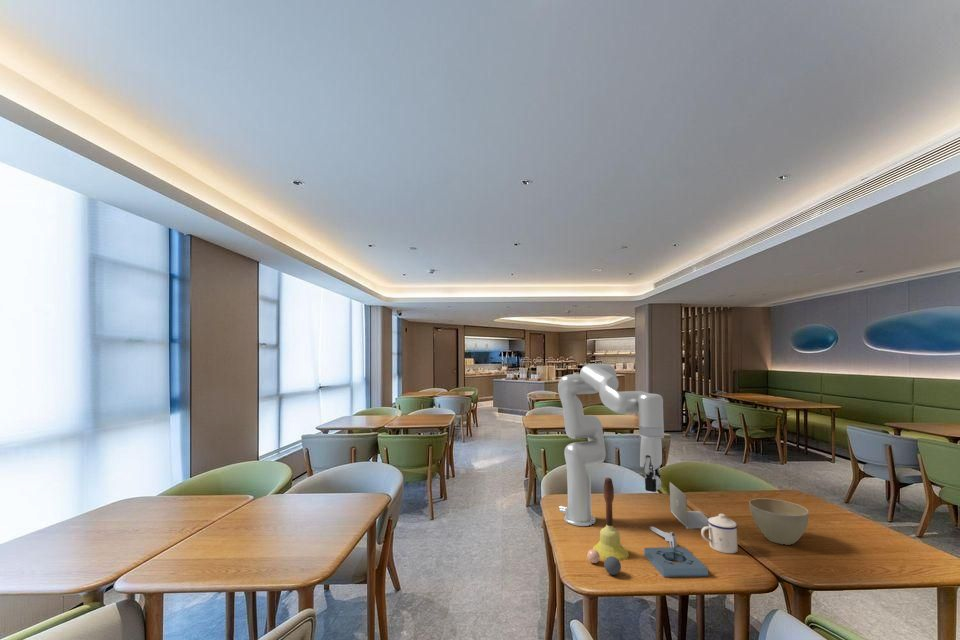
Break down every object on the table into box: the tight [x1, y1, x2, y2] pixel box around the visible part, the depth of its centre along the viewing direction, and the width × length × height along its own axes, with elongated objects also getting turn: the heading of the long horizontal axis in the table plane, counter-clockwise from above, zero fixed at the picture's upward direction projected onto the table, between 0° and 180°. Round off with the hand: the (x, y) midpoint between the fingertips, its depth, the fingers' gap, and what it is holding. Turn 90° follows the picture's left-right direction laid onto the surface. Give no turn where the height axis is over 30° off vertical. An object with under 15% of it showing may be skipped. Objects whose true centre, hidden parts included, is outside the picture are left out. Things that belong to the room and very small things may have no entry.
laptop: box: [669, 481, 709, 530], centre depth 174 cm, size 18×12×13 cm
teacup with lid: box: [700, 513, 738, 554], centre depth 149 cm, size 12×9×12 cm
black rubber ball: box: [603, 556, 622, 576], centre depth 131 cm, size 5×5×5 cm
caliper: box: [649, 526, 678, 547], centre depth 155 cm, size 20×1×6 cm, turn 1°
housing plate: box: [643, 546, 709, 578], centre depth 136 cm, size 14×14×2 cm
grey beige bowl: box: [748, 497, 810, 546], centre depth 155 cm, size 18×18×12 cm
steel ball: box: [655, 475, 662, 491], centre depth 136 cm, size 5×5×5 cm
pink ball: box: [586, 548, 601, 564], centre depth 138 cm, size 4×4×4 cm
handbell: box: [591, 477, 630, 562], centre depth 146 cm, size 12×12×25 cm
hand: (653, 488), depth 136 cm, fingers closed on steel ball, 5 cm apart
